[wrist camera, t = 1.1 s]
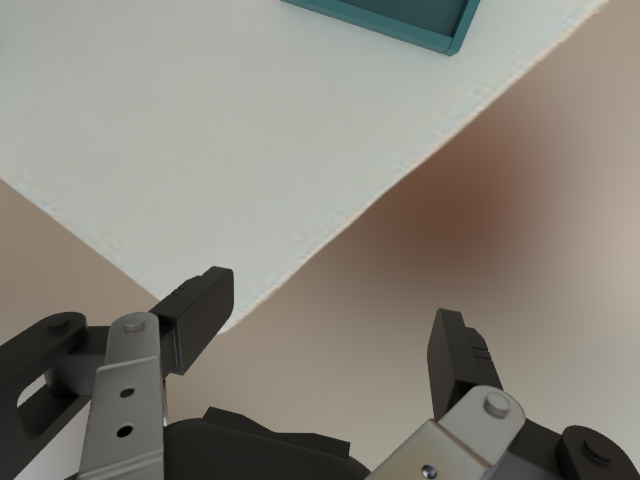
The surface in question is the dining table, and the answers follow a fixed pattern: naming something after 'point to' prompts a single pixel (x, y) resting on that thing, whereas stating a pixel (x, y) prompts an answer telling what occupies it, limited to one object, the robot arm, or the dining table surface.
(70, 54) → the dining table surface
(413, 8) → the tray
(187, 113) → the dining table surface
